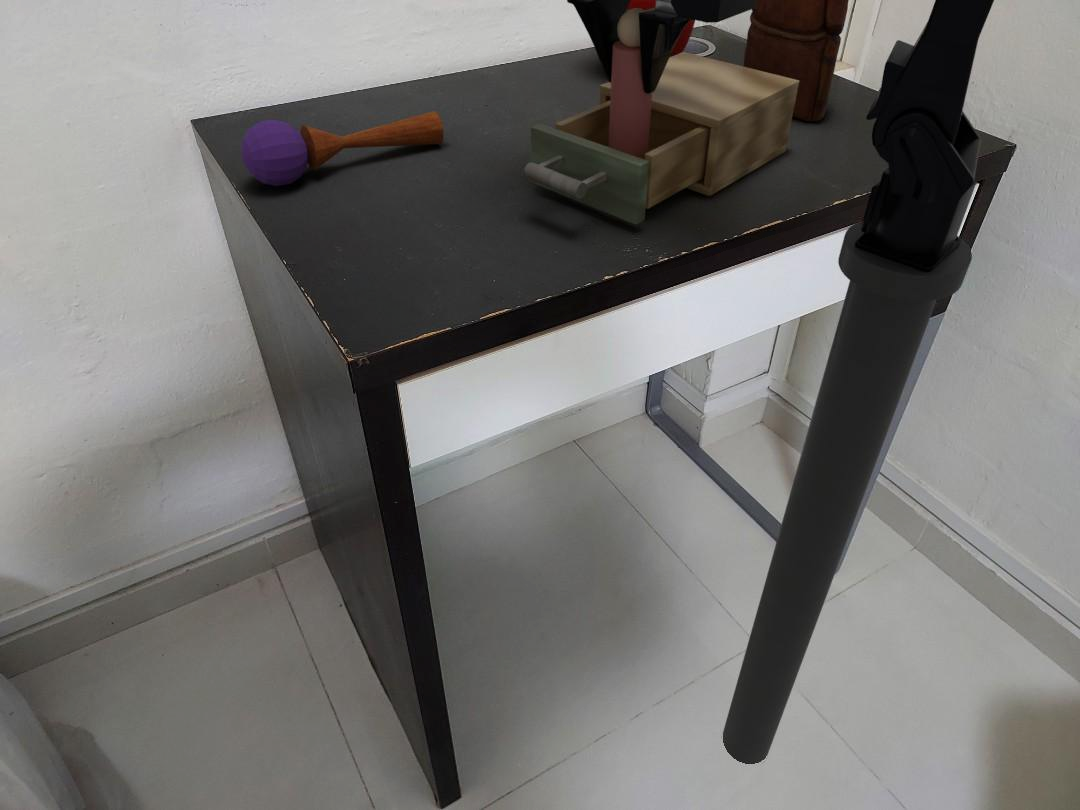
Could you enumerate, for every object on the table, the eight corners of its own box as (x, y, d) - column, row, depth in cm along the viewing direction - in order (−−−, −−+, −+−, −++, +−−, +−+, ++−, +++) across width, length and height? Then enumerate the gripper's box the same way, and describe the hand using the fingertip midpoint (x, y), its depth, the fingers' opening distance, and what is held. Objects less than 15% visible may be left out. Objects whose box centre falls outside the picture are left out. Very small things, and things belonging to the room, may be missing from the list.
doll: (655, 148, 72) (667, 8, 64) (631, 160, 70) (640, 17, 62) (625, 137, 74) (632, 0, 66) (600, 149, 72) (605, 9, 64)
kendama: (451, 114, 79) (250, 145, 70) (447, 167, 83) (257, 203, 74) (424, 86, 82) (228, 112, 73) (422, 139, 86) (237, 169, 77)
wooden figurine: (845, 112, 88) (889, -74, 76) (812, 127, 85) (853, -64, 73) (757, 86, 95) (785, -88, 83) (724, 99, 92) (749, -80, 80)
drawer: (604, 243, 65) (607, 182, 61) (499, 197, 71) (496, 140, 68) (719, 177, 74) (727, 121, 70) (616, 142, 80) (619, 89, 77)
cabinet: (709, 196, 73) (719, 120, 68) (597, 156, 80) (599, 85, 75) (785, 151, 80) (799, 80, 76) (676, 118, 87) (683, 51, 83)
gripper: (814, -131, 58) (775, 87, 68) (616, -148, 67) (608, 44, 78) (729, -112, 52) (701, 124, 62) (525, -134, 61) (530, 72, 72)
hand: (632, 87), depth 68 cm, fingers closed on doll, 3 cm apart
